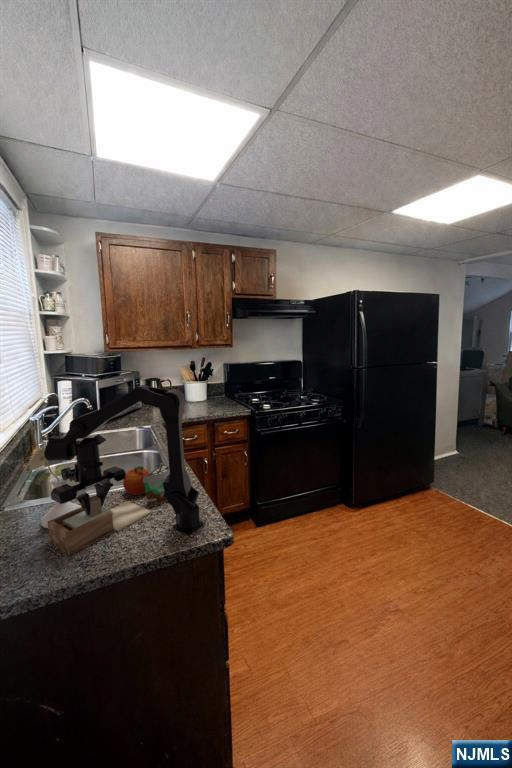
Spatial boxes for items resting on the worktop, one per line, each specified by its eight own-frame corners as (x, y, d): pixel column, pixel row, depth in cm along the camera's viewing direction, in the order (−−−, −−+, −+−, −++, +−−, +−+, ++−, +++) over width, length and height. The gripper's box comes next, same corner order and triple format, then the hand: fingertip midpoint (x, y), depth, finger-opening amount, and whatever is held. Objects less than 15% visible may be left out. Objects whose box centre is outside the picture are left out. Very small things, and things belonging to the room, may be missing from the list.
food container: (162, 507, 103) (160, 477, 102) (145, 505, 104) (142, 476, 103) (178, 489, 115) (177, 463, 114) (163, 488, 116) (161, 462, 115)
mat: (152, 512, 100) (152, 511, 100) (117, 531, 90) (117, 530, 90) (127, 502, 107) (127, 501, 107) (93, 518, 97) (92, 517, 97)
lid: (113, 514, 91) (112, 497, 91) (78, 531, 83) (76, 512, 82) (98, 507, 96) (96, 490, 95) (63, 523, 88) (61, 504, 87)
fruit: (140, 484, 121) (138, 459, 120) (157, 489, 116) (155, 463, 115) (118, 495, 113) (115, 468, 111) (135, 501, 108) (133, 473, 107)
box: (113, 531, 90) (112, 512, 89) (69, 555, 80) (67, 534, 80) (93, 520, 96) (91, 502, 96) (49, 541, 86) (47, 521, 86)
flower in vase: (72, 508, 104) (64, 434, 101) (93, 517, 98) (85, 439, 95) (27, 529, 93) (17, 446, 90) (48, 540, 87) (37, 452, 84)
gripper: (104, 445, 101) (108, 492, 103) (38, 465, 86) (44, 519, 87) (124, 451, 95) (129, 500, 97) (58, 473, 79) (64, 531, 81)
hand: (93, 511), depth 91 cm, fingers closed on lid, 3 cm apart
